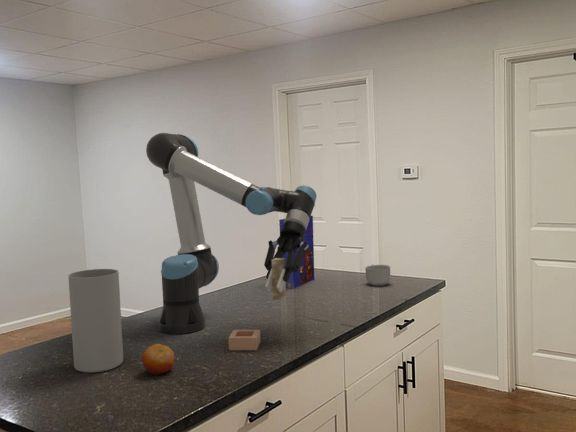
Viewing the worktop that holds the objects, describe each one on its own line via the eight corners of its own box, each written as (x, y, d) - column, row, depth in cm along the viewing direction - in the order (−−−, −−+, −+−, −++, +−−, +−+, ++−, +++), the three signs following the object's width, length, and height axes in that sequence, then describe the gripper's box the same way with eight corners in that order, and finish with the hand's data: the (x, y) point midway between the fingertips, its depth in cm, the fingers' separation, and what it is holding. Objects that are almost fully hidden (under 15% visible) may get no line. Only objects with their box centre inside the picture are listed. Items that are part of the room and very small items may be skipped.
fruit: (159, 357, 147) (167, 335, 143) (174, 378, 142) (182, 356, 139) (132, 365, 141) (139, 343, 138) (146, 387, 137) (154, 365, 133)
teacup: (392, 286, 233) (392, 268, 232) (367, 287, 233) (366, 269, 232) (387, 280, 247) (386, 262, 246) (363, 281, 247) (362, 263, 246)
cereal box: (302, 278, 257) (301, 214, 254) (314, 279, 254) (312, 215, 252) (281, 287, 237) (279, 219, 235) (293, 288, 235) (291, 219, 232)
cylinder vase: (75, 376, 138) (69, 279, 136) (73, 361, 150) (67, 271, 148) (126, 368, 143) (121, 274, 141) (120, 354, 155) (115, 267, 153)
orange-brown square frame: (228, 350, 156) (228, 337, 155) (234, 341, 164) (233, 329, 163) (256, 350, 155) (256, 337, 155) (260, 341, 163) (260, 329, 163)
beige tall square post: (272, 299, 163) (271, 259, 162) (277, 297, 166) (276, 258, 165) (281, 300, 162) (280, 260, 161) (285, 297, 165) (285, 258, 164)
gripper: (321, 235, 173) (302, 298, 160) (275, 233, 180) (253, 294, 166) (315, 220, 168) (294, 284, 154) (268, 219, 175) (244, 280, 161)
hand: (273, 289), depth 160 cm, fingers closed on beige tall square post, 3 cm apart
